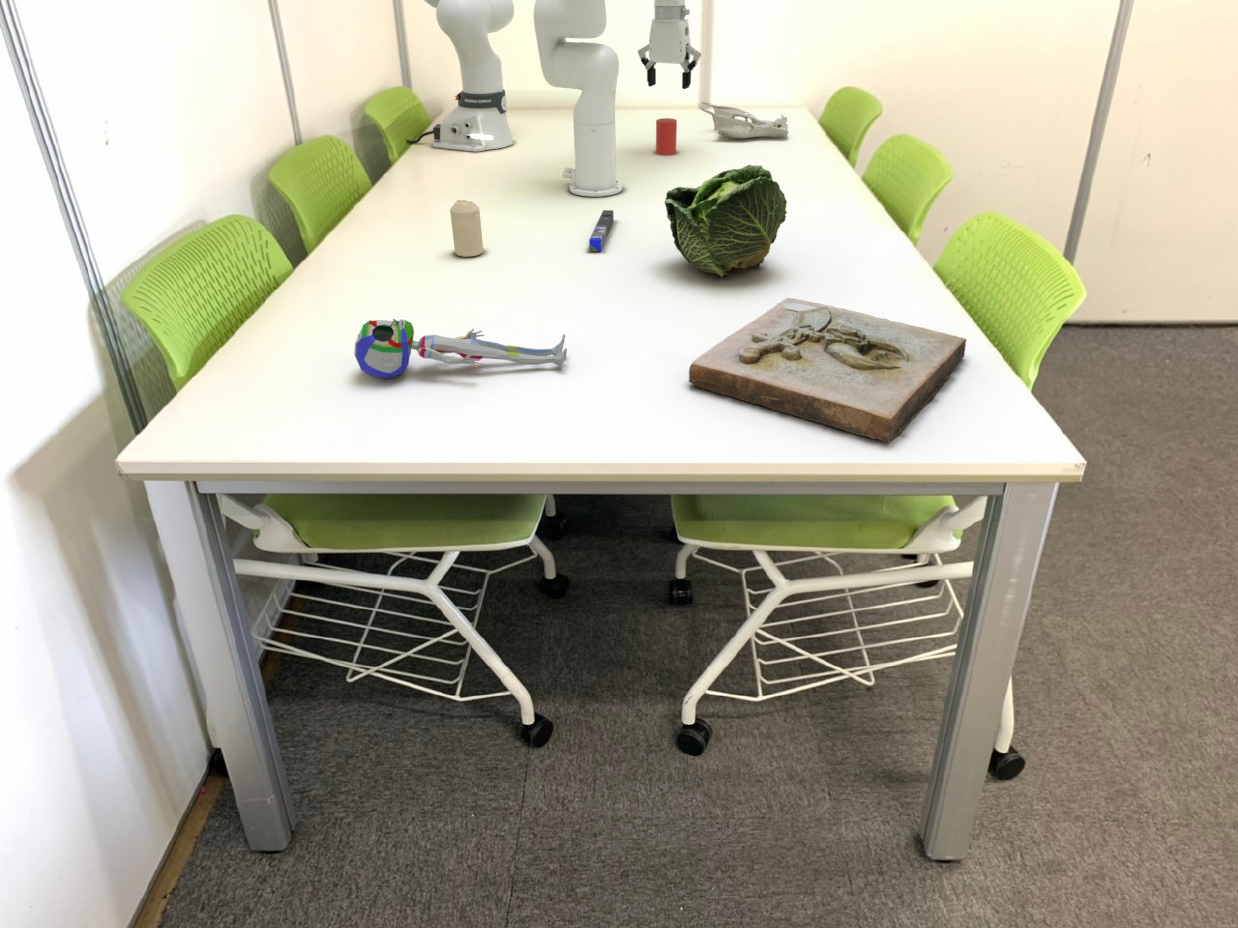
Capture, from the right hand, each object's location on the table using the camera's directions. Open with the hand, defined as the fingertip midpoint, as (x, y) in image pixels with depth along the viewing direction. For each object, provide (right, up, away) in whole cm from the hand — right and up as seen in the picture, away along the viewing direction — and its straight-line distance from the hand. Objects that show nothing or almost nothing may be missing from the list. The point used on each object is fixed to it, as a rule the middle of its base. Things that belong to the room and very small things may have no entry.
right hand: (668, 87), depth 233 cm
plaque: (+18, -85, -103) cm, 135 cm away
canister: (0, -14, +9) cm, 17 cm away
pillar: (-16, -51, -50) cm, 73 cm away
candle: (-42, -57, -57) cm, 91 cm away
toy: (-36, -84, -101) cm, 136 cm away
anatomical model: (+23, -5, +23) cm, 33 cm away
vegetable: (+6, -62, -67) cm, 91 cm away
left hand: (-25, +43, +28) cm, 57 cm away
